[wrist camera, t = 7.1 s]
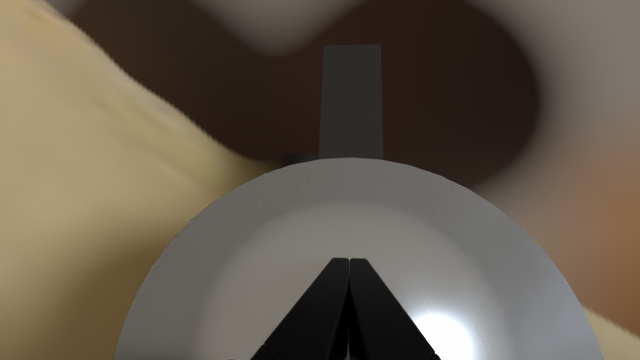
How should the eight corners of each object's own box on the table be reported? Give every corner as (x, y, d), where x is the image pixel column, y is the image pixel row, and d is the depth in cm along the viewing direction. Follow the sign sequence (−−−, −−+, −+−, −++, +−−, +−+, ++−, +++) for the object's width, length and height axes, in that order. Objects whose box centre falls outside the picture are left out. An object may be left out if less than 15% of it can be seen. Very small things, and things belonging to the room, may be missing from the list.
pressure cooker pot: (516, 558, 13) (609, 687, 8) (188, 527, 14) (108, 627, 9) (463, 107, 20) (499, 40, 15) (244, 108, 21) (214, 46, 16)
